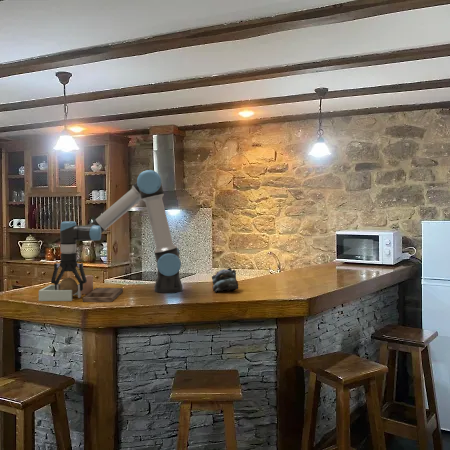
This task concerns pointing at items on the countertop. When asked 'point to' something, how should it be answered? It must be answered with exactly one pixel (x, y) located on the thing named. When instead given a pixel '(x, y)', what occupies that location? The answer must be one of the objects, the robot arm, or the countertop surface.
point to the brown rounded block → (87, 285)
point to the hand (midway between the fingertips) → (69, 297)
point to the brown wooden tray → (103, 295)
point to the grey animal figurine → (225, 280)
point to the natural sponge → (69, 285)
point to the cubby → (55, 294)
